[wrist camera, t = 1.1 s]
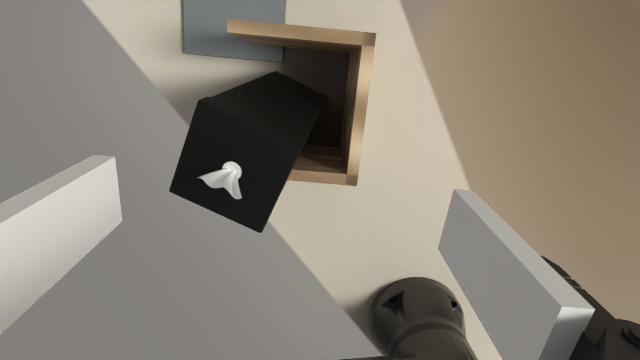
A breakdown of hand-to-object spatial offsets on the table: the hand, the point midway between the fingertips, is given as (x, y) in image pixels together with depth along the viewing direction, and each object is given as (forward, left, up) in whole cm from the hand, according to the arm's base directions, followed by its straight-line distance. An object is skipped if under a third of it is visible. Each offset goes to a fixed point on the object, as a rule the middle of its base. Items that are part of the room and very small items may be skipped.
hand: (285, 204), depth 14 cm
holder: (+2, +2, -37) cm, 37 cm away
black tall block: (0, +3, -37) cm, 37 cm away
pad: (+13, +11, -37) cm, 41 cm away
